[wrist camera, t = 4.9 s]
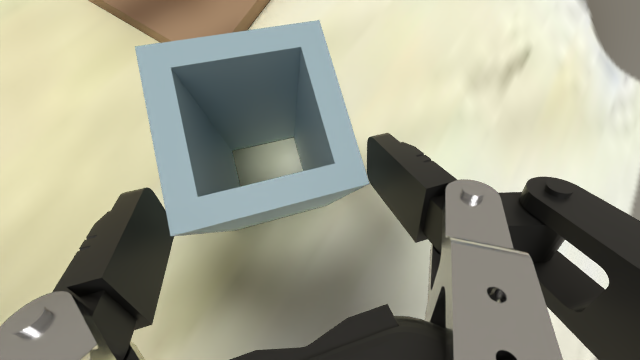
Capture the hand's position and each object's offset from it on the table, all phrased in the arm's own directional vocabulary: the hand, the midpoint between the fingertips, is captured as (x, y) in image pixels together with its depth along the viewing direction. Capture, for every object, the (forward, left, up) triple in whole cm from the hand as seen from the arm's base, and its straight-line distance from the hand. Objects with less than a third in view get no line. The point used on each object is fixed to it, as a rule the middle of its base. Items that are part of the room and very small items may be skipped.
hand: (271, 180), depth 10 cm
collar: (-1, +1, -7) cm, 7 cm away
